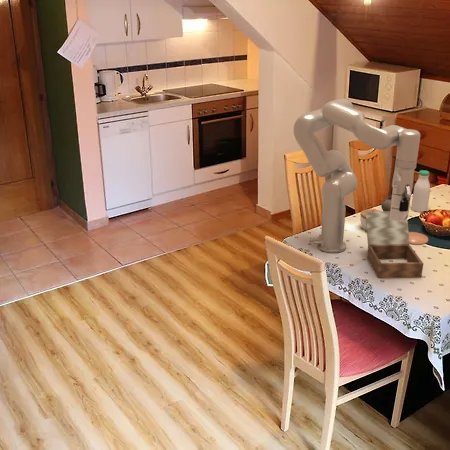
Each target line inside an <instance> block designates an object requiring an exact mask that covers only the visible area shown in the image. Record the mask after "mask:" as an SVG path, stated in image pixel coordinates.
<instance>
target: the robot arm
mask: <svg viewBox="0 0 450 450" xmlns="http://www.w3.org/2000/svg"><path fill="white" fill-rule="evenodd" d="M365 117H366V116H365V113H364V112H363V111H360V110H358V109H356V108H354V105H353V103H352V102H351V101H350V100H349V99H347V98H342V97H340V98H338V99H337V98H336V99H333V100H329V101H328V102H326V103H325V104H324V105H323V106H322V108H319V109H315V110H313V111H308V112H305V113H303V114H301V115H300V116H298V117H297V118H296V120H295V122H294V124H293V137H294V140H295V141H296V142H297V144H298V146H299V147H300V149H301V150H302V151H303V153H304V155H305V157H306V159H307V161H308V162H309V164H310V166H311V168H312V170H313V171H314V173H315V175H317V176H318V177H320V178H325V177H328V176H330V175H332V177H330V178H328V179H327V180H325V181H324V182H323V184H322V187H321V196H322V213H321V214H322V215H321V229H320V230H321V231H320V233H321V234H319V236H317V237H309V242H310V243H313V245H316V247H317V249H318V250H320V251H322V252H325V253H332V254H333V253H334V254H337V253H341V252H344V251H345V250H346V249H347V243H346V242H345V241H344V235H345V224H346V211H347V210H346V202H345V197H347V196H348V195H351V194H352V193H354V192H355V191H357V188H358V178H357V176H356V175H355V173H354V171H353V169H352V167H351V165H350V163H349V161H348V160H347V158H346V157H345V155H344V154H343V153H342V152H341V151H339V150H336V149H330V150H327V149H326V147H325V145H324V143H323V142H322V140H321V139H320V138H319V137H318V136H316V135H315V133H316V132H319V131H323V130H325V129H327V128H329V127H332V126H336V127H339V128H341V129H343V130H346V131H348V132H350V133H352V135H354V137H356V139H357V140H358V141H359V142H361V143H362V144H364V145H367V146H368V147H371V148H374V149H375V150H381V151H382V150H388V149H390V148H391V147H395V146H397V147H396V156H395V163H394V171H393V176H392V183H391V188H392V189H393V185H394V184H397V189H396V193H397V194H398V195H401V201H400V207H399V211H400V212H403V211H408V206H409V207H410V205H409V201H410V202H411V197H412V194H413V193H412V192H413V189H414V187H413V186H414V175H415V174H414V173H415V169H416V168H417V163H418V156H419V147H420V141H421V132H420V131H418V130H417V129H412V128H411V129H410V128H408V129H407V128H405V127H402V126H399V125H396V124H391V125H388V126H386V127H383V128H378V127H375V126H373V125H370V124H369V123H367V122H366V121H365V119H366V118H365ZM405 190H406V193H403V192H405ZM404 195H406V197H404Z"/></svg>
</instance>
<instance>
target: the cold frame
mask: <svg viewBox="0 0 450 450" xmlns="http://www.w3.org/2000/svg"><path fill="white" fill-rule="evenodd" d="M366 225H367V230H366V237H367V253H366V259H367V261H368V263H369V264H370V266H371V268H372V270H373V272H374V274H375V276H376V277H377V279H393V278H394V279H399V278H401V279H402V278H406V279H407V278H422V276H423V271H424V270H423V269H424V262H423V261H422V259H421V258H420V257H419V256H418V254H417V253H416V251H415V250H414V249H413V247H412V246H411V244H409V232H410V231H409V223H408V218H407V219H406V220H405V221H404V222H399V221H394V220H391V219H390V211H383V210H382V212H366ZM395 259H396V260H398V259H400V260H401V259H403V260H404V259H405V260H406V261H407V262H381V260H395Z"/></svg>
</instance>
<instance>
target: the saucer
mask: <svg viewBox="0 0 450 450" xmlns="http://www.w3.org/2000/svg"><path fill="white" fill-rule="evenodd" d="M408 232H409V245H412V246H413V245H414V246H422V245H426V244H428V242H429V238H428V236H427V235H425V234H423V233H421V232H416V231H408Z"/></svg>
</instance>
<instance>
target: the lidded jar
mask: <svg viewBox="0 0 450 450" xmlns="http://www.w3.org/2000/svg"><path fill="white" fill-rule="evenodd" d="M382 211H383V210H382ZM382 211H381V210H380V209H379V210H378V209H373V208H371V209H363V210H361V211H360V224H361V225H360V226H361V227H362V228H363V229H364V230H365V231H367V225H366V212H382Z"/></svg>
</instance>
